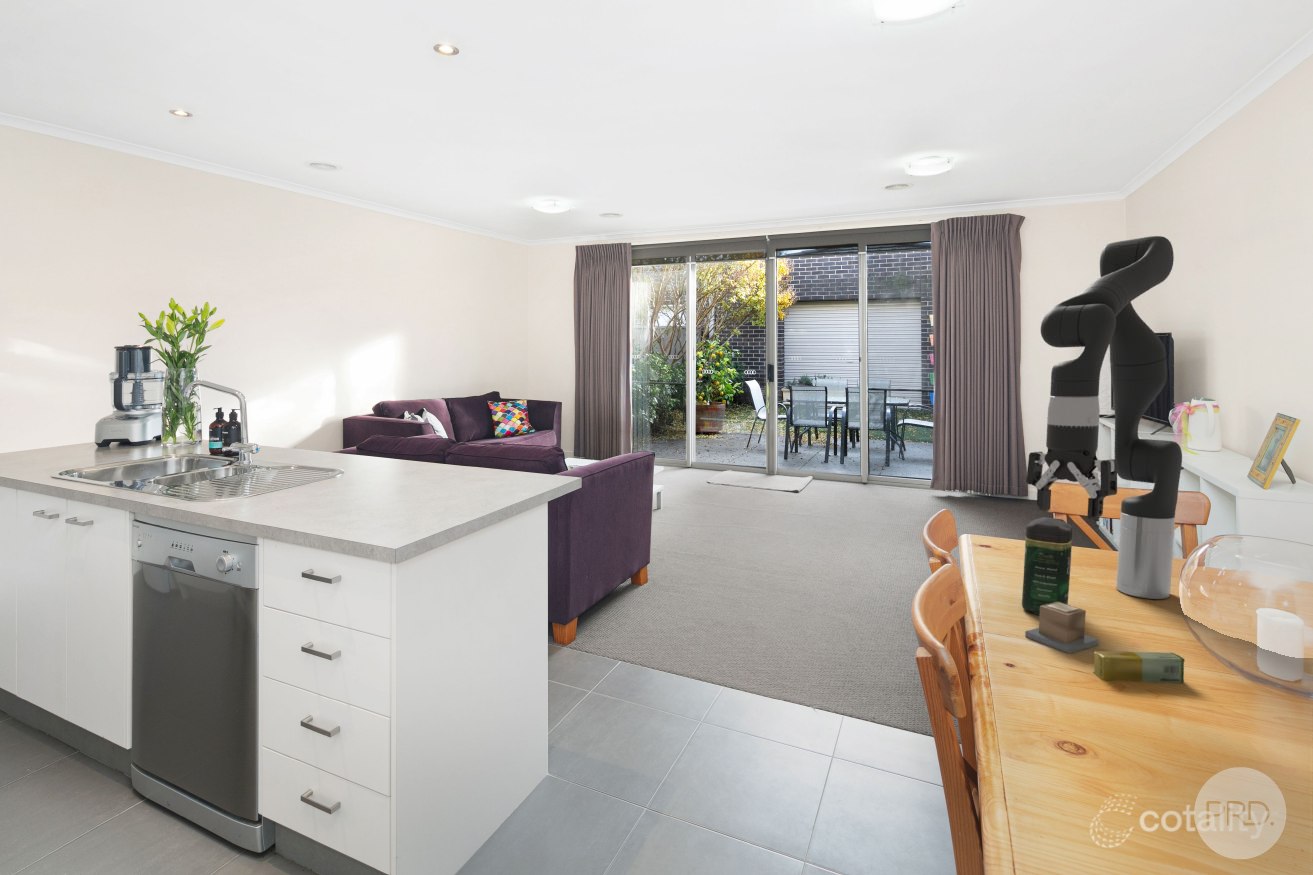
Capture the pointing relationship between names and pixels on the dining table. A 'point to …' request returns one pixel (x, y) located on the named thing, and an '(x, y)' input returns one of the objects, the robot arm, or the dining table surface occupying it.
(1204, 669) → the dining table surface
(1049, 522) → the coffee jar
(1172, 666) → the medication box
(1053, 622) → the cube
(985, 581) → the dining table surface
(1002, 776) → the dining table surface
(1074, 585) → the dining table surface
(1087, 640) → the pad
